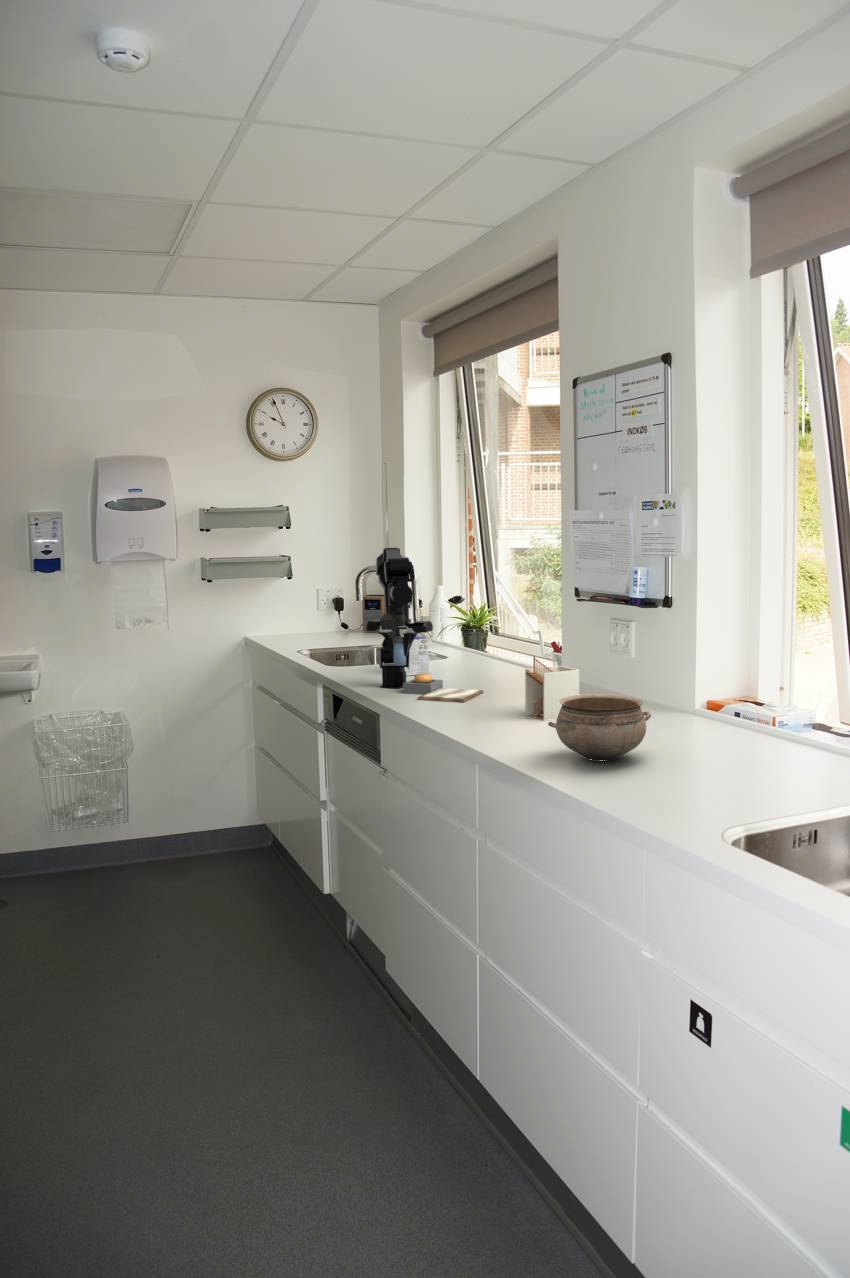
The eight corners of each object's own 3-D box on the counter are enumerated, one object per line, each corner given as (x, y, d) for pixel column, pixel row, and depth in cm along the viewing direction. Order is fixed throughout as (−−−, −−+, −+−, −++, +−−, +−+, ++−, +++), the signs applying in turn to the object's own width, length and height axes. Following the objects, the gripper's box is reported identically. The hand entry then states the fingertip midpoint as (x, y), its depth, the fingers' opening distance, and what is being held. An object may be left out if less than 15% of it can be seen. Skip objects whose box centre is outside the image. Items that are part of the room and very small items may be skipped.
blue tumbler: (391, 665, 282) (390, 637, 281) (396, 663, 285) (396, 636, 284) (403, 665, 280) (402, 638, 279) (408, 664, 284) (408, 636, 283)
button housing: (403, 693, 292) (403, 683, 292) (415, 688, 300) (415, 678, 300) (431, 694, 288) (431, 684, 288) (442, 689, 297) (442, 679, 296)
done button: (412, 682, 293) (411, 675, 292) (418, 679, 297) (418, 673, 297) (427, 683, 291) (427, 676, 290) (433, 680, 295) (433, 674, 295)
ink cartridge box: (423, 672, 332) (422, 629, 330) (430, 674, 327) (429, 631, 325) (396, 674, 327) (395, 631, 326) (402, 676, 322) (401, 632, 321)
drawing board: (418, 699, 281) (418, 696, 281) (439, 690, 295) (439, 687, 295) (464, 702, 275) (464, 699, 275) (483, 692, 290) (483, 689, 290)
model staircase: (524, 716, 257) (524, 653, 255) (559, 712, 262) (559, 650, 260) (543, 722, 249) (543, 657, 247) (579, 717, 254) (579, 654, 252)
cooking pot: (573, 774, 197) (573, 714, 195) (527, 754, 214) (527, 699, 213) (676, 761, 206) (677, 703, 205) (624, 742, 224) (625, 689, 222)
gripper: (356, 603, 277) (358, 658, 279) (417, 604, 270) (418, 661, 272) (373, 600, 287) (375, 653, 289) (433, 601, 280) (433, 655, 282)
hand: (399, 655), depth 283 cm, fingers closed on blue tumbler, 4 cm apart
